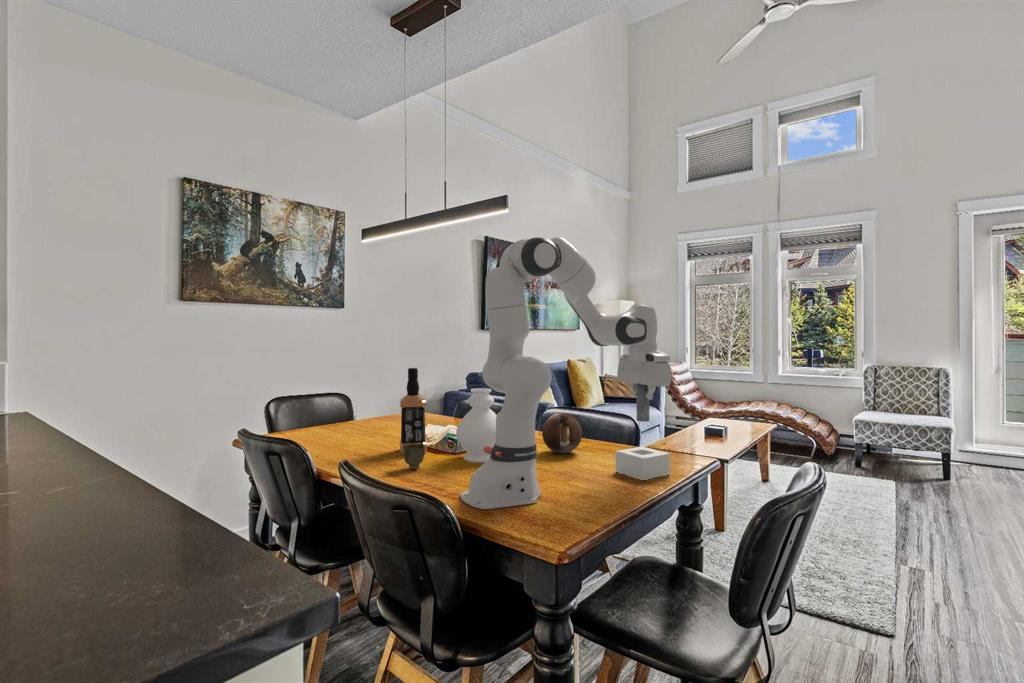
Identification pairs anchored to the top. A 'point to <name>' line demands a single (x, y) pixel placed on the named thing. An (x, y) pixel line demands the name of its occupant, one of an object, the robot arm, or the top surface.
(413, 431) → the whiskey bottle
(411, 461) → the cup
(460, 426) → the decorative vase
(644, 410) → the steel pin
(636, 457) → the block
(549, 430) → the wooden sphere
